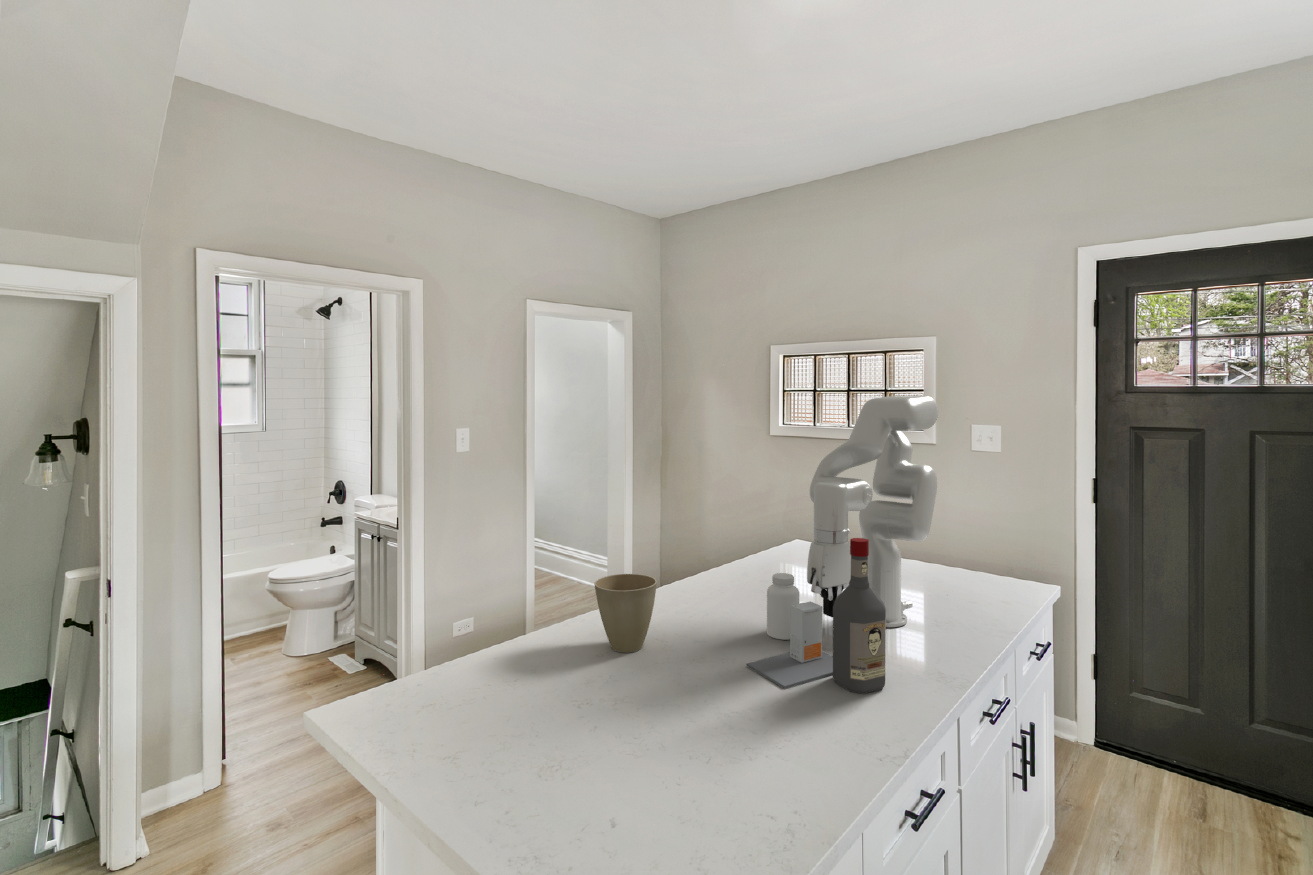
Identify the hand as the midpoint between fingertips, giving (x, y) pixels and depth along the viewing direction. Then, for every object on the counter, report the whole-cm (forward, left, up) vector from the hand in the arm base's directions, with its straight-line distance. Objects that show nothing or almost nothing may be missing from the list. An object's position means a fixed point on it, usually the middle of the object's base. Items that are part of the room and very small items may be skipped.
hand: (830, 614), depth 147 cm
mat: (+11, +2, -9) cm, 14 cm away
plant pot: (+38, -28, -9) cm, 49 cm away
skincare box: (+7, 0, -9) cm, 11 cm away
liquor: (+6, +14, -9) cm, 18 cm away
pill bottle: (+1, -15, -9) cm, 18 cm away
